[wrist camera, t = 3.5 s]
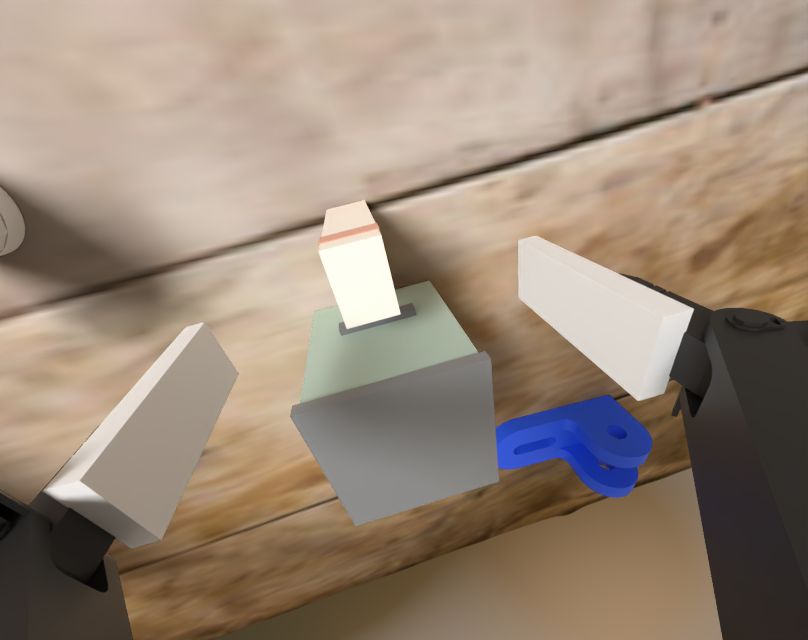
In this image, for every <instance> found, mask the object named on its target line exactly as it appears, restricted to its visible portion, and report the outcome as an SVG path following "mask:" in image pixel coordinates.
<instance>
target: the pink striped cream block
mask: <svg viewBox="0 0 808 640" xmlns="http://www.w3.org/2000/svg"><path fill="white" fill-rule="evenodd" d="M318 252H319V254H320V257H321V260H322V263H323V265H324V268H325V271H326V273H327V276H328V279H329V282H330V284H331V287H332V290H333V293H334V295H335V298H336V301H337V303H338V306H339V309H340V312H341V314H342V317H343V320H344V323H345V325H346V328H347V329H349V328H353V327H357V326H360V325H364V324H367V323H371V322H375V321H378V320H382V319H386V318H389V317H393V316H397V315H400V314H401V313H400V309H399V305H398V301H397V297H396V293H395V289H394V285H393V281H392V277H391V272H390V268H389V264H388V260H387V256H386V252H385V248H384V244H383V240H382V236H381V233H380V229H379V226H378V224H377V223H375V221H374V219H373V217H372V215H371V212H370V210H369V208H368V206H367V204H366V202H365V200H363V201H359V202H355V203H351V204H347V205H343V206H339V207H335V208H331V209H327V212H326V216H325V221H324V226H323V231H322V236H321V237H320V239H319V251H318Z"/></svg>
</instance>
